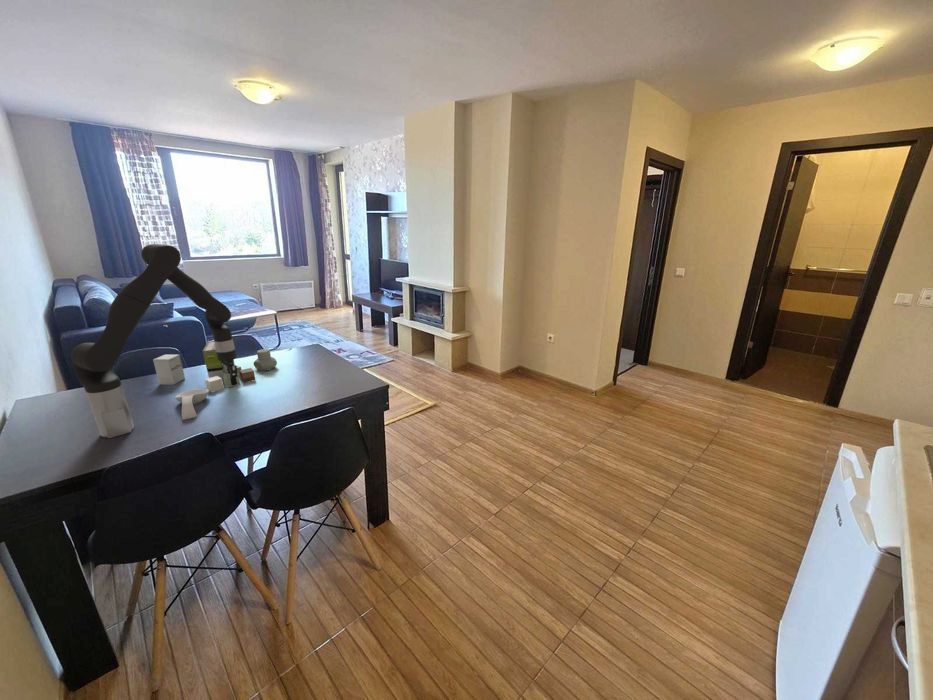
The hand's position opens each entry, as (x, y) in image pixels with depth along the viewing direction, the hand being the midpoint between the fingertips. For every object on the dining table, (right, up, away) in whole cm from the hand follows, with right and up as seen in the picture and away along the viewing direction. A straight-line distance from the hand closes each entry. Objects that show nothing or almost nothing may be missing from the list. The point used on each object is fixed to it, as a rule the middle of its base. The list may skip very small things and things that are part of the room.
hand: (232, 383), depth 178 cm
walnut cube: (+5, +1, +5) cm, 7 cm away
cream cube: (-5, -2, -5) cm, 7 cm away
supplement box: (-30, 0, +2) cm, 30 cm away
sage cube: (0, -1, 0) cm, 0 cm away
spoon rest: (-3, -8, -22) cm, 23 cm away
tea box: (-14, +4, +14) cm, 20 cm away
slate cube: (-4, +2, +9) cm, 10 cm away
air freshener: (+6, +6, +19) cm, 21 cm away
